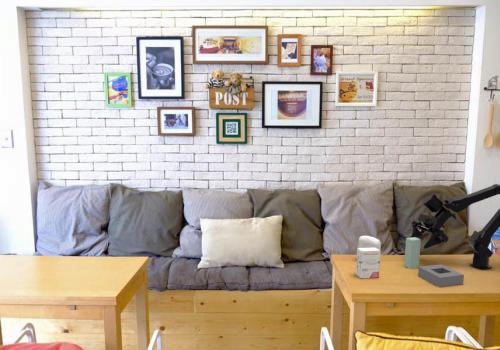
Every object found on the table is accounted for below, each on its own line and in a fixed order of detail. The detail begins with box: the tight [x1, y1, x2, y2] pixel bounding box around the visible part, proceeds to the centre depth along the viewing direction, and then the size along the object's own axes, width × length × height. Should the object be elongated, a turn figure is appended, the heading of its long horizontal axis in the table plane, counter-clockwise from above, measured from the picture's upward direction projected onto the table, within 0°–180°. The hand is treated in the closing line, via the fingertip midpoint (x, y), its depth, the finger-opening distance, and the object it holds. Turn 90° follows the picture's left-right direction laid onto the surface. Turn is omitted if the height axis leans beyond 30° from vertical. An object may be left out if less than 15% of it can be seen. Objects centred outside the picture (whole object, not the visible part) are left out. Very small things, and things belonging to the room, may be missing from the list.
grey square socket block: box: [417, 263, 465, 288], centre depth 169 cm, size 12×12×4 cm
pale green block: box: [403, 237, 422, 269], centre depth 183 cm, size 5×4×13 cm
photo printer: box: [357, 235, 382, 251], centre depth 187 cm, size 10×4×12 cm, turn 45°
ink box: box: [355, 247, 381, 279], centre depth 171 cm, size 9×5×12 cm, turn 98°
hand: (417, 244), depth 183 cm, fingers open, 9 cm apart
